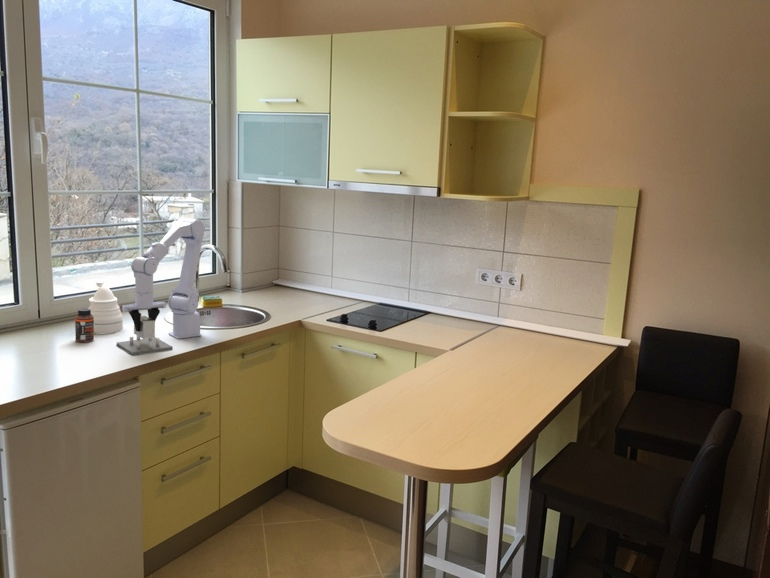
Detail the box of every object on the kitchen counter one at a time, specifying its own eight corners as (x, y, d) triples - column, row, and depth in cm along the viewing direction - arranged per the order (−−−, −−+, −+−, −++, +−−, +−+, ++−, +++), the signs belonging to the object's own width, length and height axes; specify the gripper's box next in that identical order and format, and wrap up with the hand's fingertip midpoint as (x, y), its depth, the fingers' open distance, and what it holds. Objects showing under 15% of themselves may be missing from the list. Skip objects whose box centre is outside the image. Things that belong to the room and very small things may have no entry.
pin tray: (155, 340, 234) (155, 330, 234) (172, 349, 224) (172, 339, 224) (116, 345, 225) (116, 335, 224) (132, 355, 215) (132, 345, 214)
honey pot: (77, 330, 240) (76, 282, 237) (104, 323, 252) (103, 278, 249) (104, 335, 236) (103, 287, 232) (130, 328, 248) (129, 282, 244)
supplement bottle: (86, 343, 225) (86, 312, 222) (71, 341, 226) (70, 310, 224) (97, 339, 230) (97, 308, 228) (82, 337, 231) (82, 306, 229)
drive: (154, 337, 222) (154, 320, 221) (143, 338, 220) (143, 321, 218) (145, 332, 228) (145, 315, 227) (134, 333, 225) (133, 316, 224)
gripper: (159, 288, 229) (159, 325, 231) (118, 291, 219) (118, 329, 221) (168, 291, 224) (168, 329, 226) (126, 295, 214) (126, 334, 216)
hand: (144, 330), depth 223 cm, fingers closed on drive, 4 cm apart
